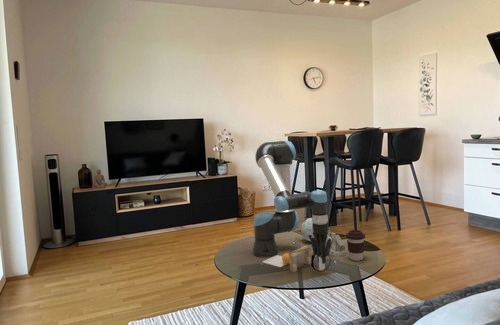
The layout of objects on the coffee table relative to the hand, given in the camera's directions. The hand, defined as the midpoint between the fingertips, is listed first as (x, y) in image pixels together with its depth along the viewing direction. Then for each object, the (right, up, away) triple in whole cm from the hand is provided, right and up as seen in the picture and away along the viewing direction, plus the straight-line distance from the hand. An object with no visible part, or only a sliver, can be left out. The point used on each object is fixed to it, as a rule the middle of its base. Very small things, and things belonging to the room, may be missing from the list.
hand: (322, 269), depth 183 cm
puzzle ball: (+4, +3, +50) cm, 50 cm away
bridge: (-9, -2, +9) cm, 13 cm away
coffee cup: (+22, +1, +17) cm, 27 cm away
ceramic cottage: (+13, +1, +30) cm, 33 cm away
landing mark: (-20, -1, +20) cm, 28 cm away
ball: (-16, +1, +15) cm, 22 cm away
